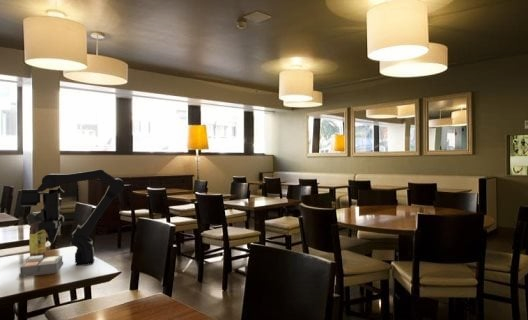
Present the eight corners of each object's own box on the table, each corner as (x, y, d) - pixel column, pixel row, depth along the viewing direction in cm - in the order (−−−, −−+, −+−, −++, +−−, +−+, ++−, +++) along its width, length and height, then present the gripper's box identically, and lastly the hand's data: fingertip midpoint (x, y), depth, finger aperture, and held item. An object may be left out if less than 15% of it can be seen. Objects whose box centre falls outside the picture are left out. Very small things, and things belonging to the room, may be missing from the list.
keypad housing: (63, 263, 155) (63, 255, 154) (57, 272, 143) (56, 263, 143) (28, 267, 150) (28, 258, 150) (19, 276, 139) (19, 267, 139)
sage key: (59, 260, 153) (59, 255, 153) (57, 263, 149) (57, 258, 149) (47, 261, 152) (47, 257, 152) (45, 264, 148) (45, 260, 148)
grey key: (43, 260, 151) (43, 255, 151) (40, 263, 147) (40, 258, 147) (31, 261, 150) (30, 256, 150) (27, 264, 146) (27, 259, 146)
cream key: (56, 262, 147) (56, 257, 147) (54, 265, 143) (54, 260, 143) (44, 263, 146) (44, 258, 146) (41, 266, 142) (41, 261, 142)
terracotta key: (39, 266, 146) (39, 261, 146) (36, 269, 141) (36, 264, 141) (26, 267, 144) (26, 262, 144) (23, 271, 140) (23, 266, 140)
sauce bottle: (40, 257, 164) (39, 213, 163) (26, 258, 164) (25, 213, 163) (49, 253, 170) (48, 211, 170) (35, 253, 170) (34, 211, 170)
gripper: (34, 202, 156) (35, 239, 156) (21, 209, 138) (22, 250, 139) (64, 201, 160) (64, 237, 160) (54, 207, 142) (55, 247, 142)
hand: (51, 242), depth 150 cm, fingers closed
